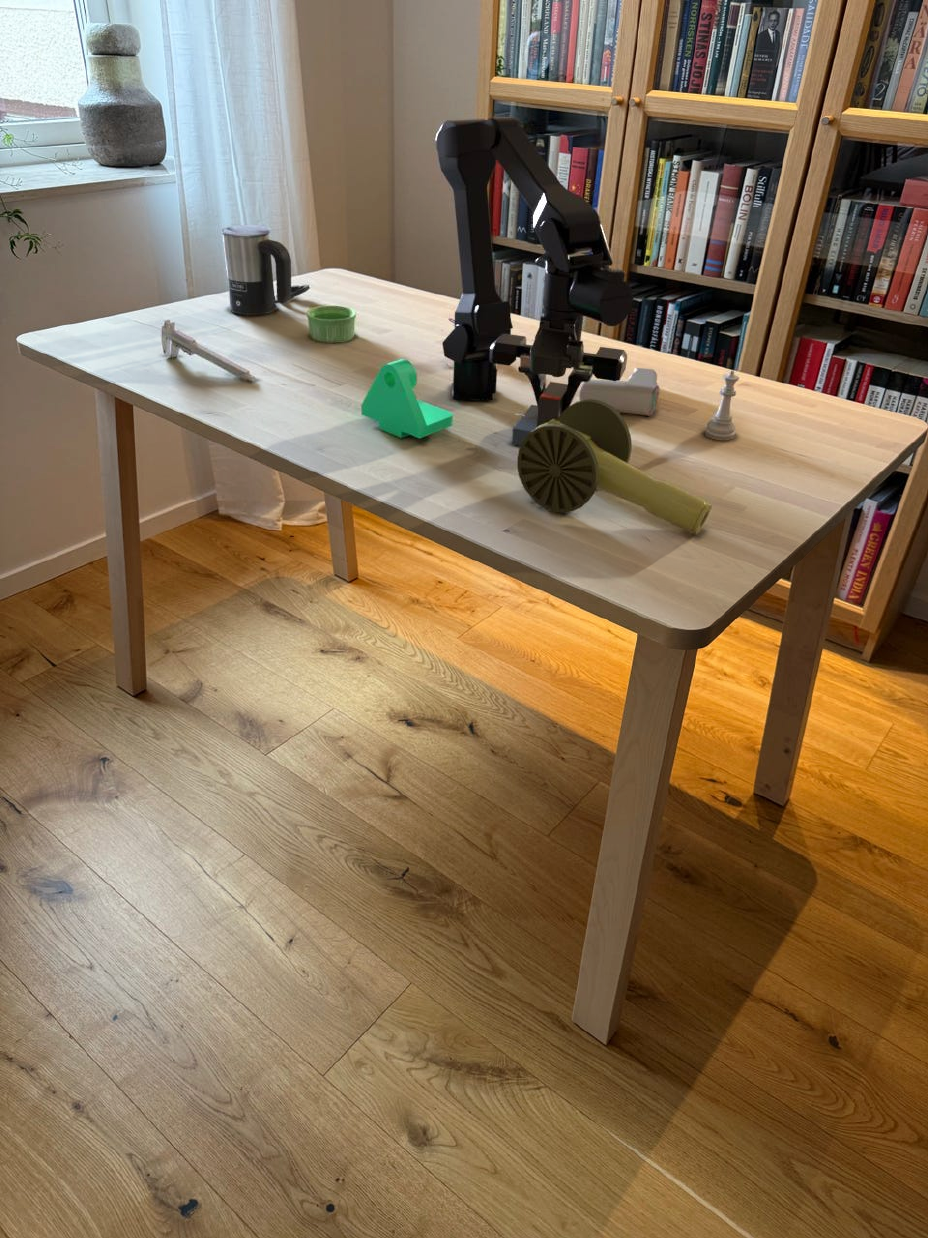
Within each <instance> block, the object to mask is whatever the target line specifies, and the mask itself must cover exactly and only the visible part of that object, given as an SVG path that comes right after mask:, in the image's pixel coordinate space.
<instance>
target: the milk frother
mask: <svg viewBox="0 0 928 1238" xmlns="http://www.w3.org/2000/svg"><path fill="white" fill-rule="evenodd" d="M220 233H221V235H222V241H223V251H224V259H225V266H226V267H225V268H226V275H227V285H228V296H229V306H228V309H229V311H230V312H232V313H235V314H238V315H245V316H246V315H247V316H248V315H249V316H258V315H265V314H269V313H273V312H274V311H276V310H277V307H278V306H277V304H286V303H288V302H289V301H291V300H293V299H294V298H295V297H298V296H300V295H302V294H305V293H306V292H307V291H309V290H310V288H311V287H310V285H309V284H303V285H298V284H296V285H295V284H293V285H292V259H291V258H292V257H291V255H290V252H289V250H288V249H287V248H286V246H285V245H284V244H283V243H281V242H280V241H277V240H274V239H273V240H272V239H270V233H271V229H270V228H269V227H267V226H262V225H250V224H247V225H246V224H245V225H244V224H241V225H232V226H228V227H223V228H222V229H221V230H220ZM272 257H273V259H274V263H275V279H276V280H275V281H276V282H275V283H276V284H275V285H276V295H275V287H274V286H275V285H274V273H273V262H272Z"/></svg>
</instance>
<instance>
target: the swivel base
mask: <svg viewBox="0 0 928 1238" xmlns="http://www.w3.org/2000/svg"><path fill="white" fill-rule="evenodd" d="M514 416H516V417H520V419H519V420H518V421H517V423H516V424H515V425H514V427H513V428H512V439H511V440H512V441H511V445H514V446H519V447H521V444H522V442H523V441H524V439H525V438H526V437H527V436H528V435H529V434H530V433H531V432H532V431H533V430H534V429H536V428H537V417H538V406H537V404H531V405H530V406H529V407H528V408H527V410H526V411H525V412H524V414H522V413H515V414H514Z"/></svg>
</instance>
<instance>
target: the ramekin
mask: <svg viewBox="0 0 928 1238" xmlns="http://www.w3.org/2000/svg"><path fill="white" fill-rule="evenodd" d="M305 314H306V318H307V321H308V328H309V334H310V337H311V338H312V340H313V339H314V340H315V341H317V342H321V343H332V344H334V343H343V342H347V341H349V340H351V339H353V338H354V336H355V329H356V327H355V324H356V317H357V312H356V310H355V309H353V308H351V307H348V306H343V305H330V304H329V305H319V306H315V307H312V308H309V309H308V310H307V311H306V313H305Z"/></svg>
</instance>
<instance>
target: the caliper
mask: <svg viewBox="0 0 928 1238" xmlns="http://www.w3.org/2000/svg"><path fill="white" fill-rule="evenodd" d="M175 326H176V325H175V322H171V319H165V320H164V324H163V325H161V332H160V338H161V345H162V352H163V354H164V355H165V356H167V355H170V358H171V359H173V358H176V357H178V355H179V352H180V350H181V351H182V352H183V353H186V354H187V355H189V356H193V355H197V356H198V357H200V358H202V359H204V360H206V361H208V362H209V363H211V364H213V365H215V366H217V367H219V368H220V369H223V370H224V371H226V372H228V373H230V374H232V375H233V376H235V377H236V378H239V379H241V380H243V381H250V382H252V381H254V380H256V377H255V376H254V375H252V374H251V371H250V370H249V369H247V368H244V367H242V366H241V365H239V364H237V363H235V362H234V361H232V360H230V359H228V358H226V357H224V356H222V355H220V354H218V353H217V352H215V351H213V350H211V349H209V348H207V347H206V346H204V345H201V344H200V343H198V342H197V340H196V339H195V338H193V337H192V336H189V335H187V334H186V333H184V332H182V331H180V330H179V329H175Z"/></svg>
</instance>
